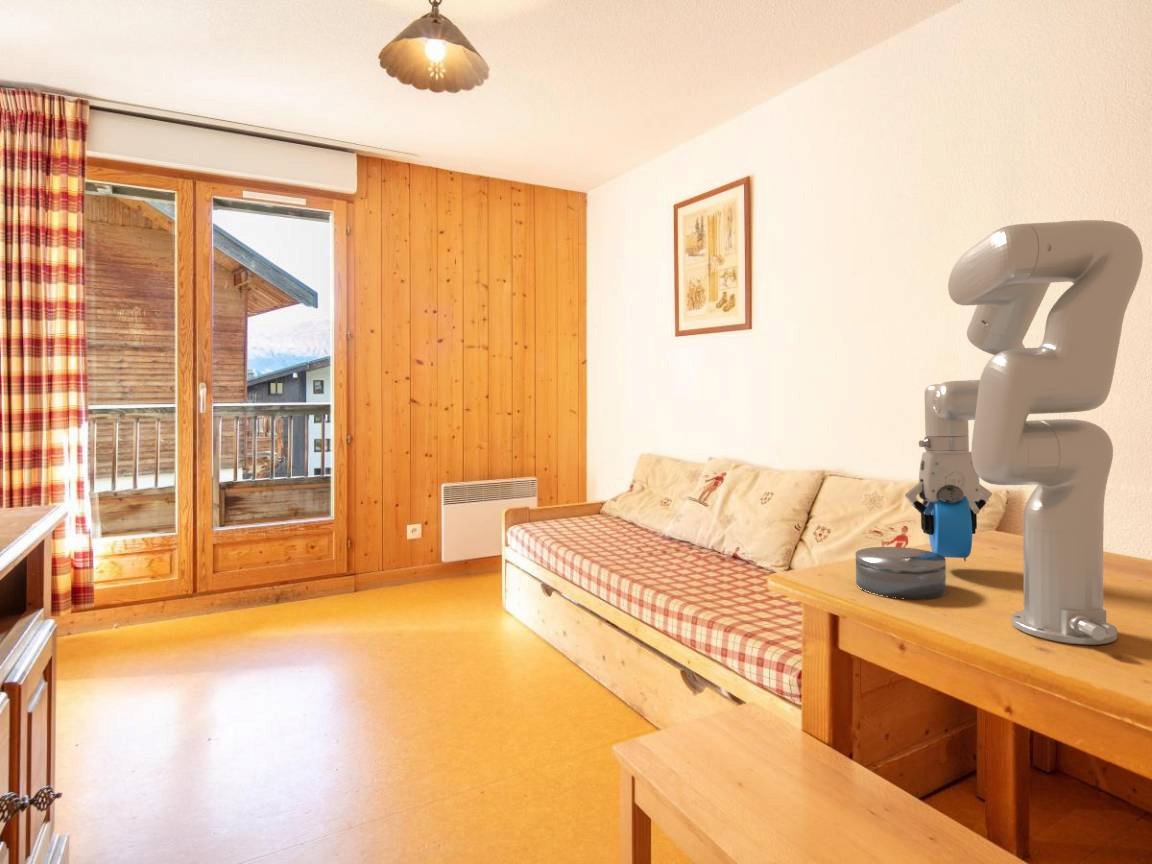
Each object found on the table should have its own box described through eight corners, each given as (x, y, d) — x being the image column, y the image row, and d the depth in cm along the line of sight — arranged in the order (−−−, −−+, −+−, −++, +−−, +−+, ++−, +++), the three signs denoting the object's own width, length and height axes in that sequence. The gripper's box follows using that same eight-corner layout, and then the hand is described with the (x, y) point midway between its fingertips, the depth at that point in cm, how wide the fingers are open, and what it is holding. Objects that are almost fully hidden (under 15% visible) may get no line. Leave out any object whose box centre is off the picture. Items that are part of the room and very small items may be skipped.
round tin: (962, 599, 112) (962, 565, 112) (874, 600, 114) (873, 566, 113) (922, 576, 127) (922, 546, 127) (844, 577, 128) (844, 547, 128)
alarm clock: (974, 564, 122) (971, 485, 122) (937, 563, 125) (934, 486, 125) (960, 552, 134) (957, 480, 135) (927, 551, 137) (924, 480, 137)
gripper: (910, 447, 126) (912, 537, 126) (1003, 444, 125) (1005, 535, 125) (894, 445, 133) (896, 531, 134) (981, 443, 132) (983, 529, 132)
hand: (948, 532), depth 129 cm, fingers closed on alarm clock, 7 cm apart
